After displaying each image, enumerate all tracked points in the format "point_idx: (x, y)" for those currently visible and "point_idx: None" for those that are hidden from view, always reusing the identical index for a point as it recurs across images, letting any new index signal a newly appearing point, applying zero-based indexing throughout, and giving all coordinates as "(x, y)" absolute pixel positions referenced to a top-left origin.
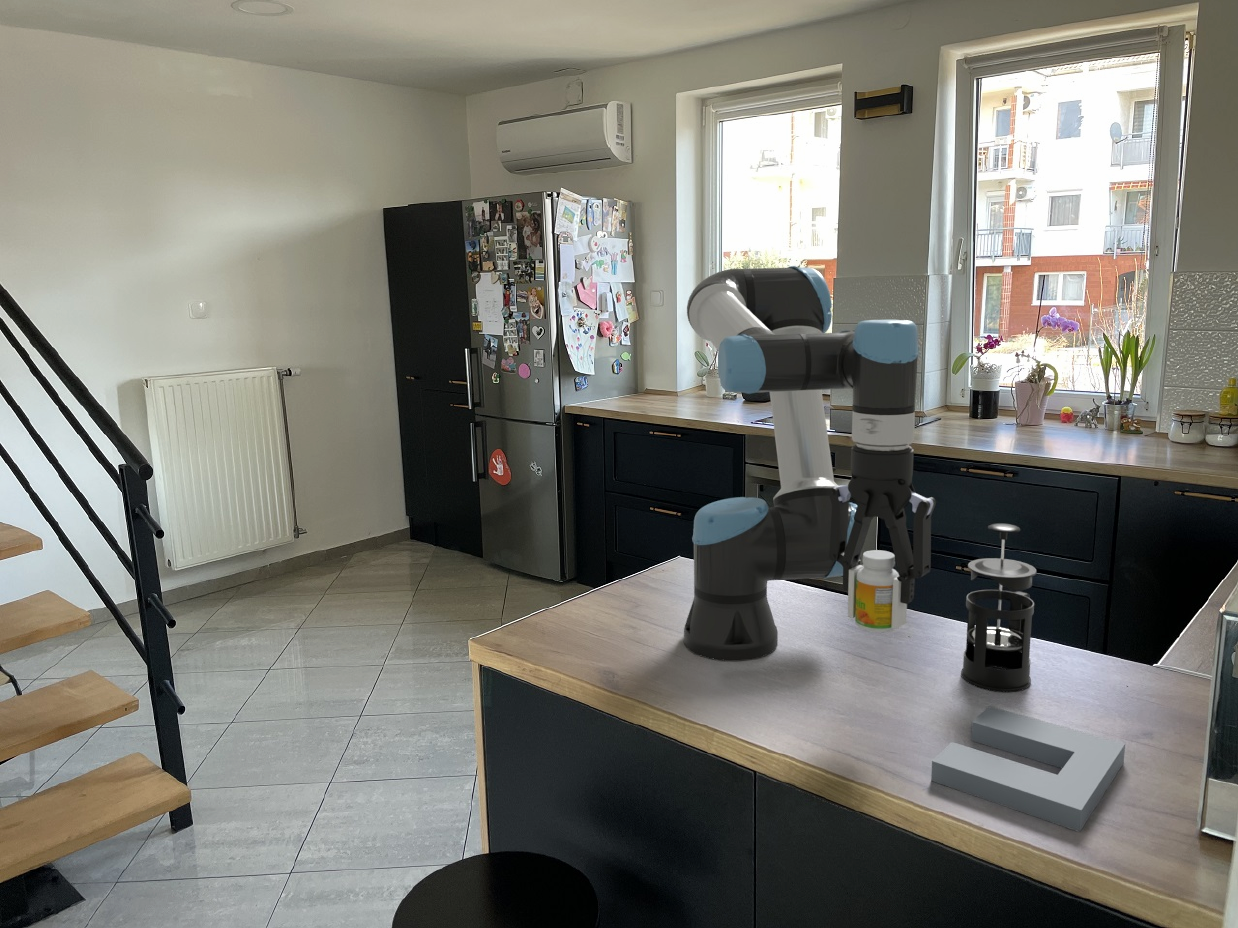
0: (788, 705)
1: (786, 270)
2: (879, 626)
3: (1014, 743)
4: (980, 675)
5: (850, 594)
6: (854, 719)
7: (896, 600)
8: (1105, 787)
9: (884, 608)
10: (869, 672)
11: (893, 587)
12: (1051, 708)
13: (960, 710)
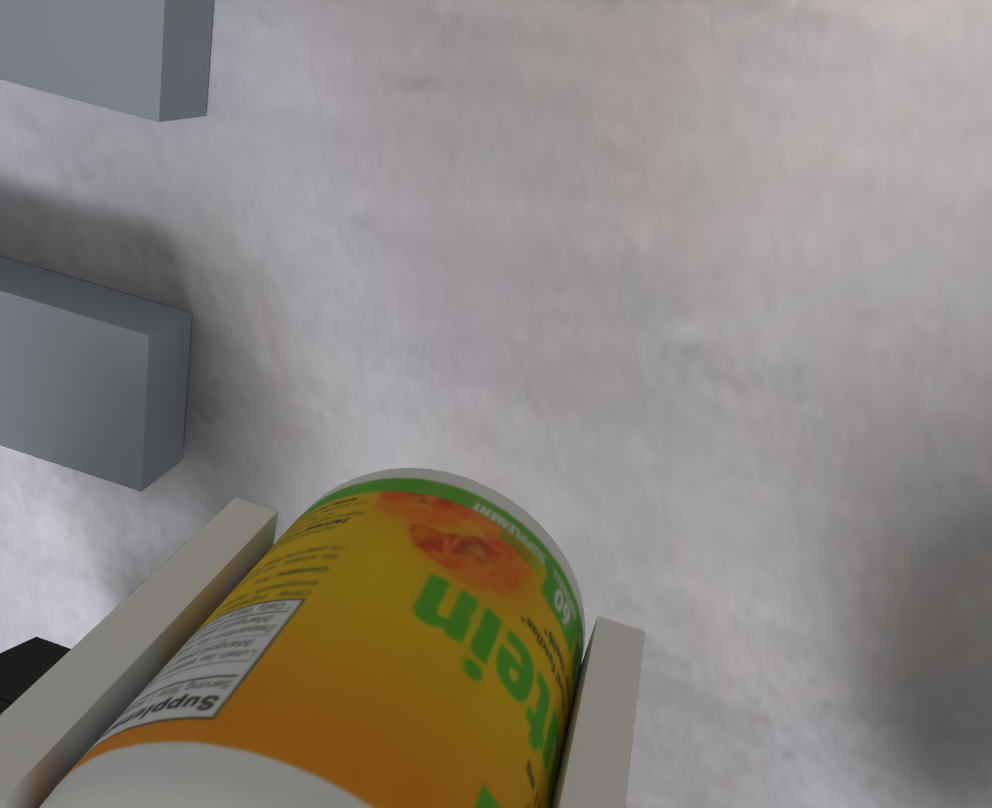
0: (959, 344)
1: None
2: (351, 490)
3: (26, 281)
4: None
5: (600, 781)
6: (628, 318)
7: (98, 644)
8: None
9: (247, 587)
10: (654, 736)
11: (39, 755)
12: (59, 619)
13: (283, 527)
